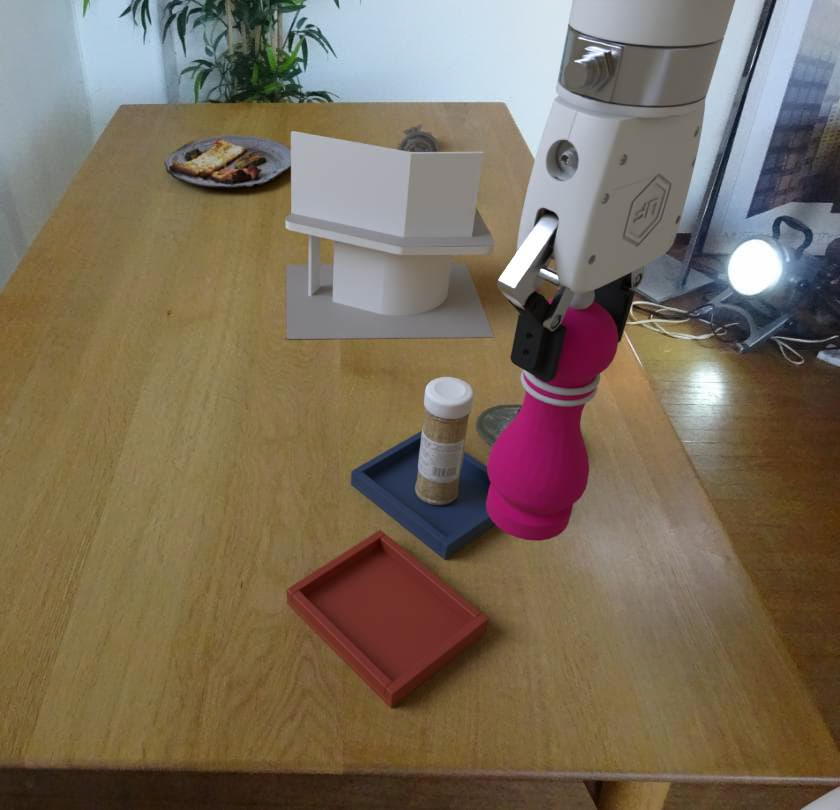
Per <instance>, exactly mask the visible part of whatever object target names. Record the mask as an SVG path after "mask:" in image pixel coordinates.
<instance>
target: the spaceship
mask: <svg viewBox="0 0 840 810" xmlns="http://www.w3.org/2000/svg"><path fill="white" fill-rule="evenodd" d="M421 128H422V123H421V124H417V125H416V126H410V128H408V129H405V130H403V131H402V133H403V134H404V135H406V136H404V137H403V138H402V140H401V141H400V143H398V147H397V150H402V151H408V152H441V149H440V144H439V142H438V141H437V140H438V139H436V137H434V135H433V133H432V131H428V132H426V131H421Z"/></svg>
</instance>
